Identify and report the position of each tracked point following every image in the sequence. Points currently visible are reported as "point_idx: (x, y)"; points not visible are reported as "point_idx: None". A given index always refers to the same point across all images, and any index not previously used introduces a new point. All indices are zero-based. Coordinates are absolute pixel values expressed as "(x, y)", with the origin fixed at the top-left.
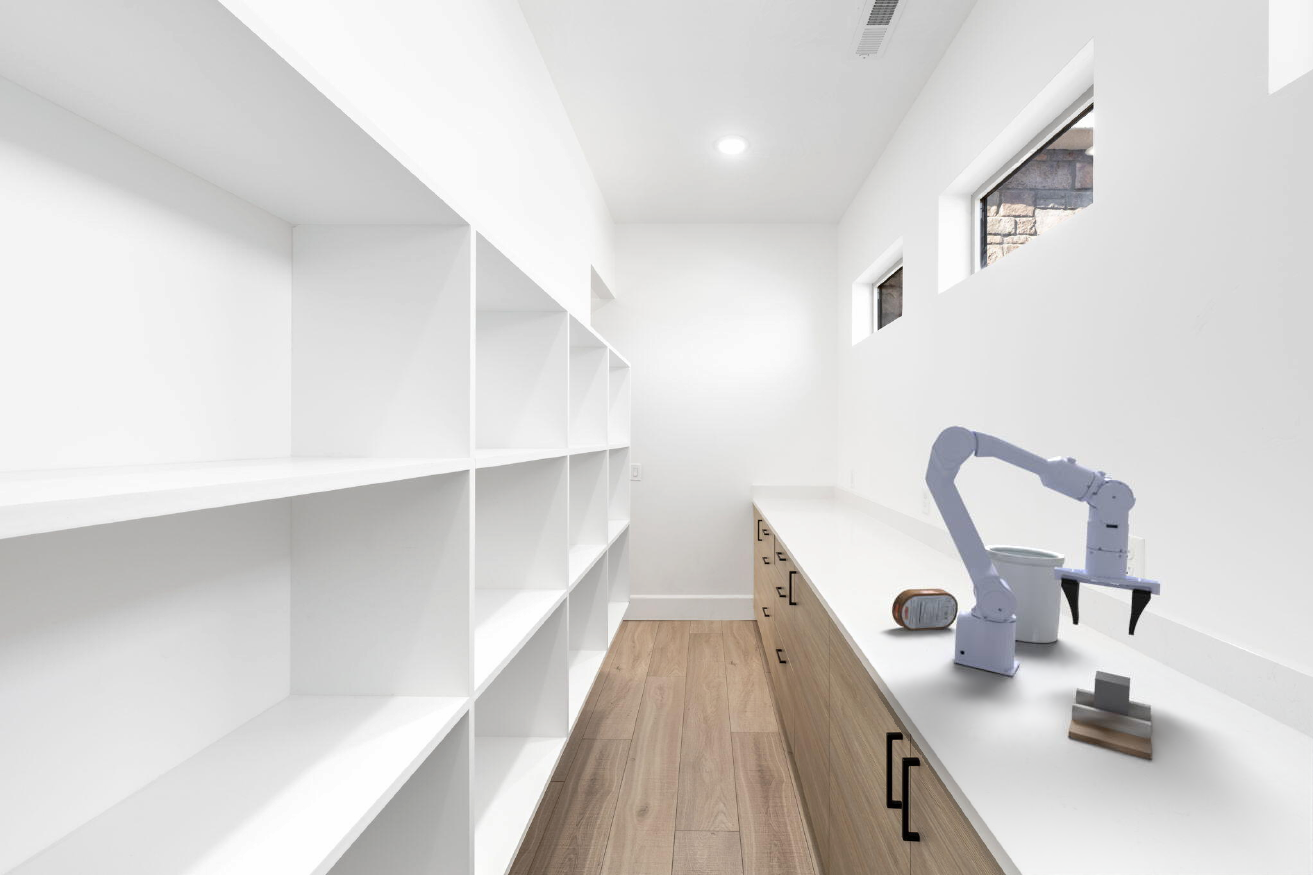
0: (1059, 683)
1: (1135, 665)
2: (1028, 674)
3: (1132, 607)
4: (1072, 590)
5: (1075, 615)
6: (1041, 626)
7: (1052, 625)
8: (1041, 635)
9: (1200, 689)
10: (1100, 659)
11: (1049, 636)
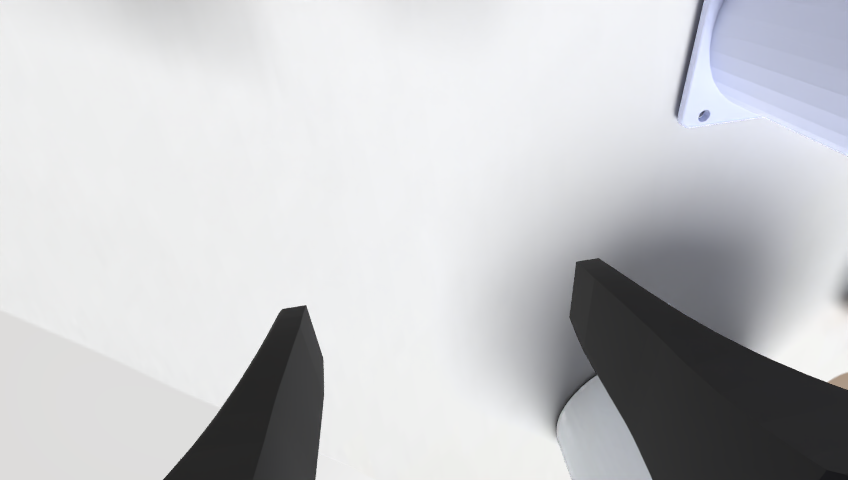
0: (534, 19)
1: (360, 400)
2: (647, 29)
3: (245, 472)
4: (837, 434)
5: (622, 291)
6: (622, 418)
7: (591, 445)
8: (606, 394)
9: (176, 355)
10: (443, 376)
11: (583, 407)
